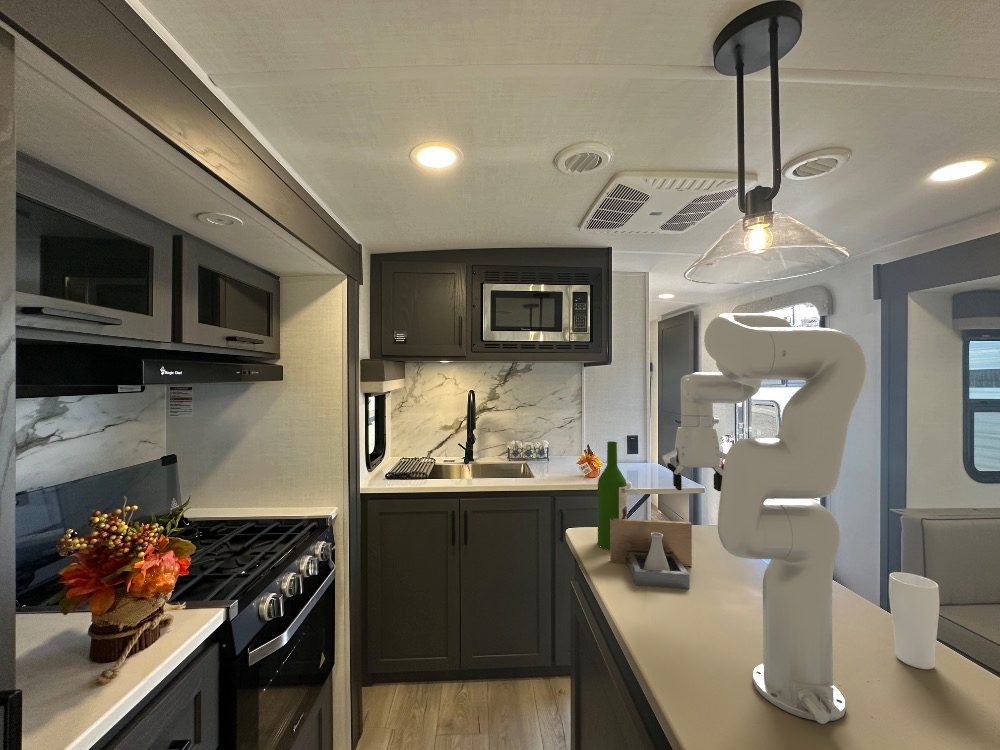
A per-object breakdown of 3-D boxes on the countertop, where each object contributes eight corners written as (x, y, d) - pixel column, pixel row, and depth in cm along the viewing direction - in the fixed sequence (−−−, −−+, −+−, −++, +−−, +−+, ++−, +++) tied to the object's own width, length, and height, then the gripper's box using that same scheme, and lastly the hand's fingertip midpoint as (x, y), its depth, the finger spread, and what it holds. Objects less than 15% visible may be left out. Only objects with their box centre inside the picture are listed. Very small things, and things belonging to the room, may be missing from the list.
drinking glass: (880, 650, 84) (879, 571, 84) (916, 651, 84) (915, 571, 84) (912, 673, 77) (910, 587, 78) (951, 674, 77) (950, 588, 77)
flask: (676, 578, 113) (675, 539, 113) (647, 578, 113) (647, 538, 113) (665, 566, 120) (665, 529, 120) (639, 566, 120) (639, 529, 120)
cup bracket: (708, 589, 109) (708, 541, 109) (617, 584, 111) (617, 536, 112) (690, 564, 124) (690, 522, 124) (610, 560, 127) (610, 518, 127)
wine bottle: (621, 552, 132) (621, 444, 133) (593, 546, 137) (593, 442, 138) (630, 544, 140) (630, 441, 140) (603, 538, 145) (603, 439, 145)
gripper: (725, 422, 116) (727, 487, 115) (658, 421, 117) (659, 486, 117) (738, 423, 108) (739, 494, 107) (666, 423, 110) (667, 492, 109)
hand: (697, 489), depth 112 cm, fingers open, 9 cm apart
